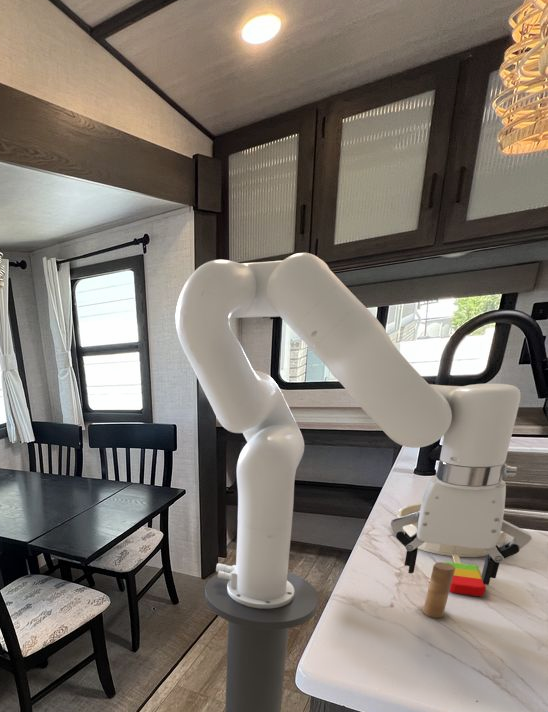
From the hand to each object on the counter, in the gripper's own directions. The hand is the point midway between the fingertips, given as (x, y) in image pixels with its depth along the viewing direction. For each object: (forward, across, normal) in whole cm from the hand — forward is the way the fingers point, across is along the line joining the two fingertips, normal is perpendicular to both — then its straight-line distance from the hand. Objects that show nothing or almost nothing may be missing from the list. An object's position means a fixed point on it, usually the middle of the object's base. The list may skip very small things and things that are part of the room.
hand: (446, 575), depth 75 cm
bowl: (+8, -1, -34) cm, 35 cm away
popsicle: (+8, -3, -16) cm, 18 cm away
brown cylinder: (+7, +1, 0) cm, 8 cm away
